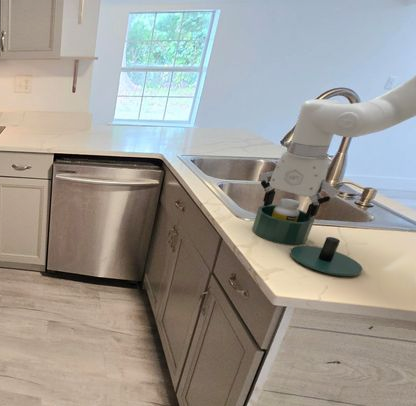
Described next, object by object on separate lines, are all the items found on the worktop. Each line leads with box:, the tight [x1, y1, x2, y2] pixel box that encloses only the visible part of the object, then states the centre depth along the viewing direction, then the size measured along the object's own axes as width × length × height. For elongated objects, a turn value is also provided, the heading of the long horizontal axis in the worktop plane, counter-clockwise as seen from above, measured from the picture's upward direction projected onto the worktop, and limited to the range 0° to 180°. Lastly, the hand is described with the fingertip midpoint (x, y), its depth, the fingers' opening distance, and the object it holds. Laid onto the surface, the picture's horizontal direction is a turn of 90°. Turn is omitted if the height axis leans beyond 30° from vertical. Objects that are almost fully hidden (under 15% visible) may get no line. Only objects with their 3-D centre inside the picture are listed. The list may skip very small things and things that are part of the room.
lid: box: [290, 236, 363, 277], centre depth 88 cm, size 13×13×7 cm
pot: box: [251, 204, 315, 246], centre depth 101 cm, size 12×12×6 cm
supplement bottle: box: [272, 198, 300, 222], centre depth 100 cm, size 5×5×10 cm
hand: (287, 210), depth 99 cm, fingers open, 9 cm apart
